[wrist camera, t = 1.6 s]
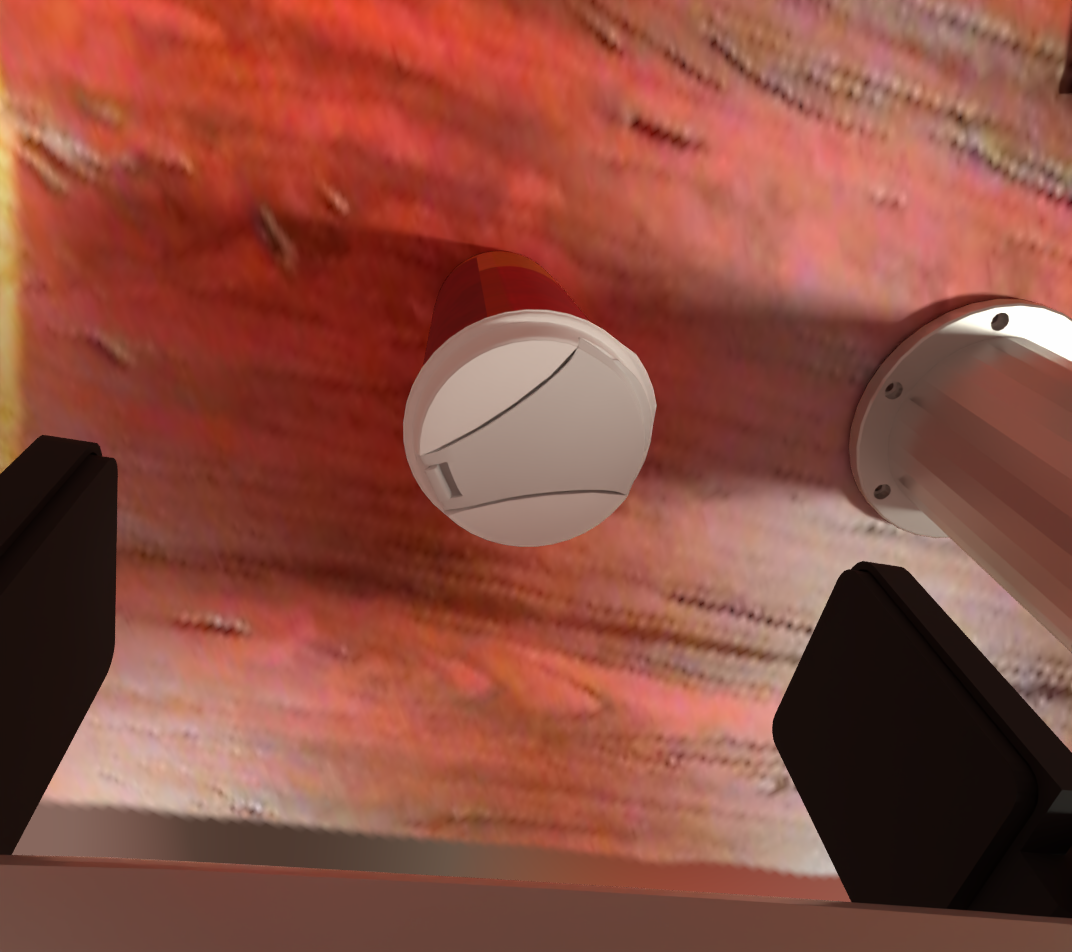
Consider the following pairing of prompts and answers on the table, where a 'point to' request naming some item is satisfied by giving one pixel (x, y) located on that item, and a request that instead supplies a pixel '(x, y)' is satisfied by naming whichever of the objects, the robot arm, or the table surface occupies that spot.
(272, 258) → the table surface
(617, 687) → the table surface
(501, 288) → the paper cup
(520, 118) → the table surface
